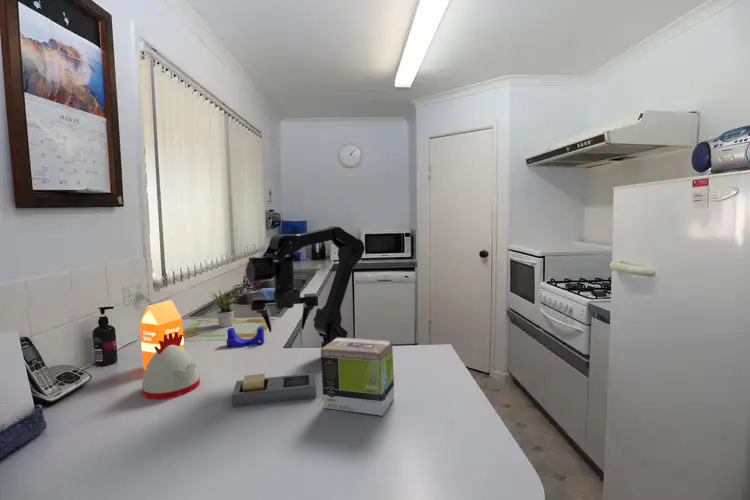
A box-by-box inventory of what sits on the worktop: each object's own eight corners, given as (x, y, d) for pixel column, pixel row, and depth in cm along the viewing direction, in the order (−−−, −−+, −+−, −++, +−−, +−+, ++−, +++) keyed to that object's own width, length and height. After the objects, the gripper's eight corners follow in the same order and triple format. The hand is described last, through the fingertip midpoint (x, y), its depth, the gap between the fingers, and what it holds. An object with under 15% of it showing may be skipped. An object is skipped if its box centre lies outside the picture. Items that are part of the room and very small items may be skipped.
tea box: (395, 398, 100) (393, 339, 98) (382, 417, 90) (380, 353, 89) (339, 391, 105) (337, 335, 103) (321, 409, 95) (319, 347, 94)
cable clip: (227, 348, 142) (226, 331, 141) (230, 344, 146) (229, 327, 146) (261, 346, 143) (260, 329, 142) (264, 342, 147) (263, 326, 147)
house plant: (197, 330, 165) (194, 290, 164) (216, 321, 179) (213, 284, 177) (230, 330, 163) (227, 290, 161) (246, 321, 177) (244, 284, 175)
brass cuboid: (265, 392, 105) (264, 373, 105) (264, 400, 101) (263, 381, 100) (245, 394, 104) (244, 375, 104) (243, 403, 100) (242, 383, 99)
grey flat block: (314, 383, 110) (314, 372, 109) (316, 397, 101) (315, 385, 101) (237, 392, 106) (236, 380, 105) (232, 407, 97) (231, 395, 97)
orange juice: (143, 369, 123) (137, 305, 122) (167, 359, 132) (163, 299, 130) (161, 372, 120) (156, 306, 119) (185, 362, 129) (181, 300, 127)
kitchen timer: (210, 381, 113) (207, 329, 112) (167, 403, 101) (162, 344, 99) (176, 374, 119) (172, 324, 118) (130, 394, 107) (126, 338, 105)
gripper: (247, 284, 107) (250, 341, 109) (318, 280, 111) (320, 335, 112) (251, 278, 118) (254, 330, 120) (316, 274, 122) (318, 325, 123)
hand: (286, 330), depth 119 cm, fingers open, 9 cm apart
